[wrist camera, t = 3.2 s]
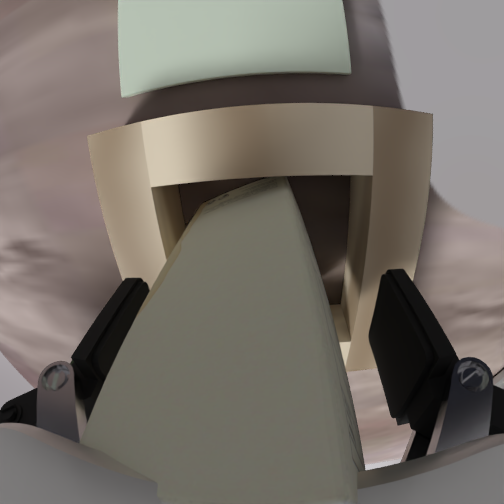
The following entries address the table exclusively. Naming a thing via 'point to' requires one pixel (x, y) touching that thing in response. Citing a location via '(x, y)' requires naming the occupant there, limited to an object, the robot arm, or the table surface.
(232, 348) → the skincare box
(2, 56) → the table surface
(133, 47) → the sage mat
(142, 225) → the holder block
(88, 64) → the table surface
